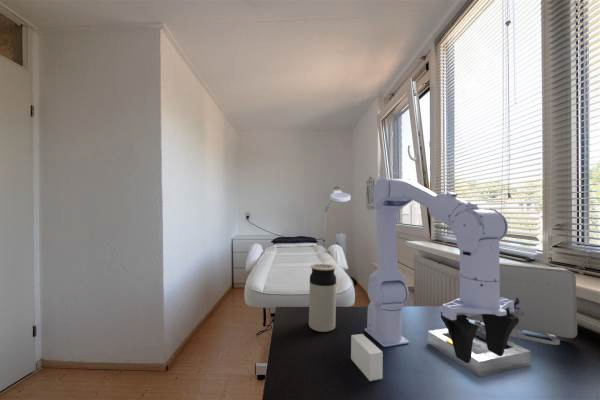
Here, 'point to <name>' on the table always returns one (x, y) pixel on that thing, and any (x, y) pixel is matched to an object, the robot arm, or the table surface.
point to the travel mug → (322, 298)
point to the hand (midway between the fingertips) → (479, 356)
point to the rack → (482, 353)
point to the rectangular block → (367, 357)
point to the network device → (539, 300)
